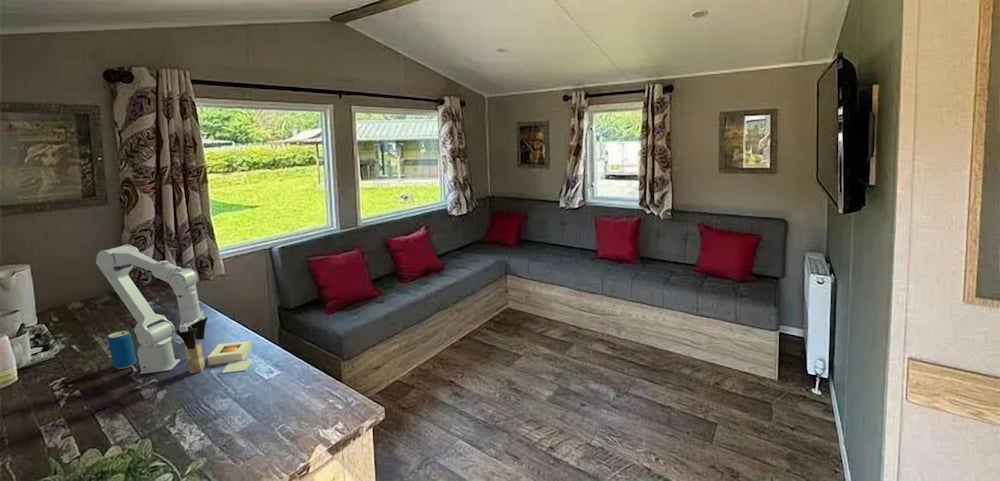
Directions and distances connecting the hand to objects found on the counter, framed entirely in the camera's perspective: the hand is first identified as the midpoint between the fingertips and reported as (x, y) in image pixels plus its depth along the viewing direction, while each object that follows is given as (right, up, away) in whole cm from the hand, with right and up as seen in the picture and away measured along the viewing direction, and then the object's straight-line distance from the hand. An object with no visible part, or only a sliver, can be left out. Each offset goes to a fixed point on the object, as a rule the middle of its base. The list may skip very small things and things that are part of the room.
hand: (196, 343), depth 163 cm
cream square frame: (+6, -7, +11) cm, 14 cm away
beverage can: (-29, -9, +7) cm, 31 cm away
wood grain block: (0, -9, +1) cm, 9 cm away
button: (+6, -6, +11) cm, 14 cm away
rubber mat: (+13, -9, +3) cm, 15 cm away
